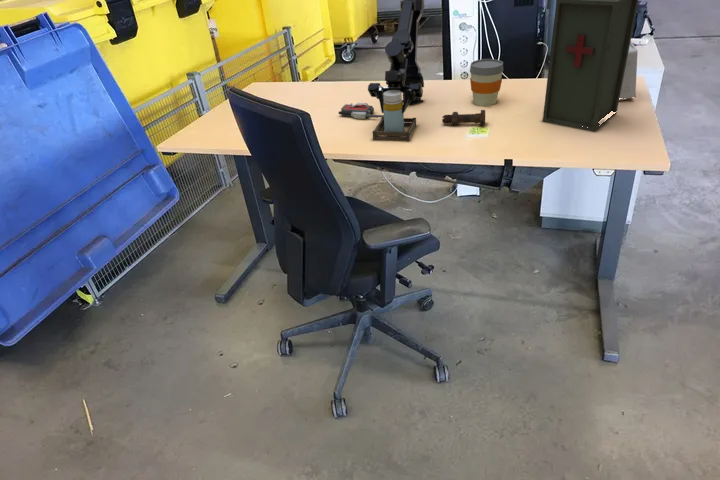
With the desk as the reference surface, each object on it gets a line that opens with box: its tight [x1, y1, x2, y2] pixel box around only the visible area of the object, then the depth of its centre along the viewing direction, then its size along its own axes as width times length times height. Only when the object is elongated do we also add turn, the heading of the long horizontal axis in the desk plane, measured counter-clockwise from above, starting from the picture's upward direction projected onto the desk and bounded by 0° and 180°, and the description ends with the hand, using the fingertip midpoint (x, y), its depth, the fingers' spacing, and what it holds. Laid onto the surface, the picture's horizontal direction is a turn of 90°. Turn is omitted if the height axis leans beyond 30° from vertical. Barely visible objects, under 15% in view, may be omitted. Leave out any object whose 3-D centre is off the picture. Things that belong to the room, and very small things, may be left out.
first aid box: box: [542, 0, 640, 133], centre depth 172 cm, size 18×18×40 cm
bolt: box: [441, 109, 486, 127], centre depth 186 cm, size 6×5×15 cm
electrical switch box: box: [619, 40, 639, 101], centre depth 194 cm, size 15×15×20 cm
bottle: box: [382, 90, 405, 132], centre depth 181 cm, size 7×7×15 cm
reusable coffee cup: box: [469, 58, 504, 107], centre depth 200 cm, size 13×13×15 cm
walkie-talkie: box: [337, 102, 384, 120], centre depth 202 cm, size 9×4×20 cm
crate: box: [372, 117, 417, 142], centre depth 186 cm, size 14×13×3 cm
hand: (392, 112), depth 180 cm, fingers closed on bottle, 7 cm apart
